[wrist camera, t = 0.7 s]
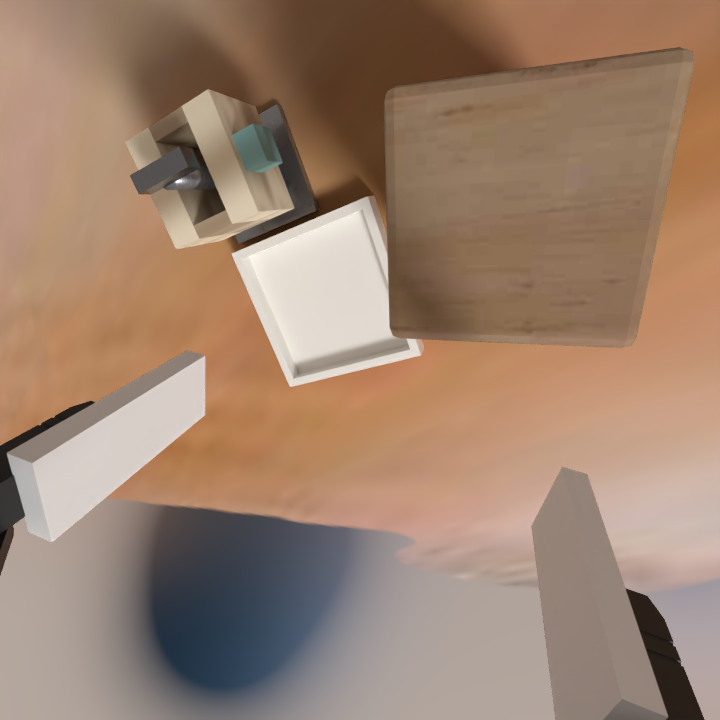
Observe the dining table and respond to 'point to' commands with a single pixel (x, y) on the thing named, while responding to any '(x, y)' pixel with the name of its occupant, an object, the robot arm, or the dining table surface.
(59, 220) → the dining table surface
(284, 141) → the grey lever faucet
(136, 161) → the collar
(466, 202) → the wooden block
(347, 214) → the tray
